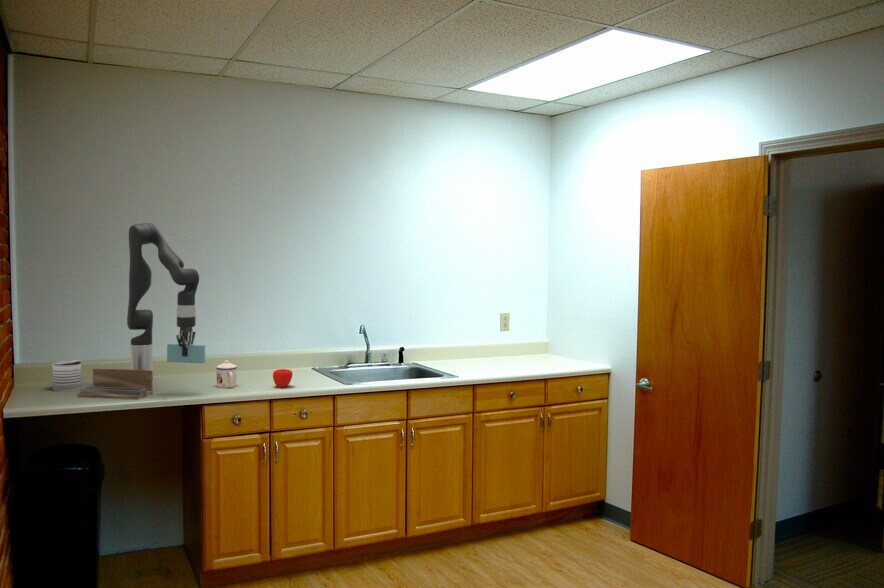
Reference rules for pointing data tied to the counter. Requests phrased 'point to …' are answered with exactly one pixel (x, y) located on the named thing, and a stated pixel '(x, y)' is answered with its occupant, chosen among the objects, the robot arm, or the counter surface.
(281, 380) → the apple
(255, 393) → the counter surface
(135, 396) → the brown wooden stand
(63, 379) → the can
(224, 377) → the teacup with lid
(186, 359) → the sliding panel
